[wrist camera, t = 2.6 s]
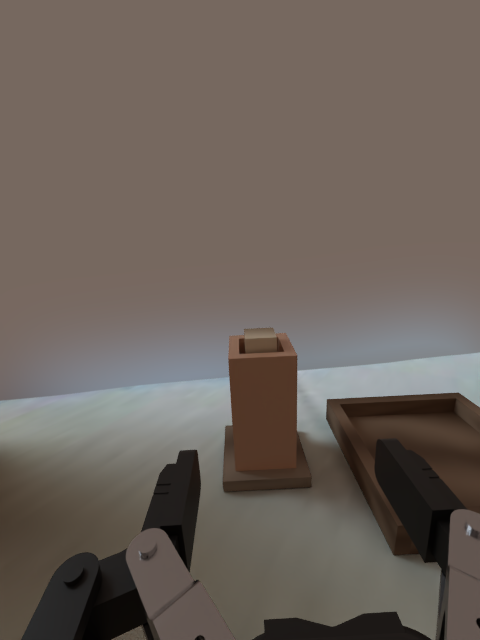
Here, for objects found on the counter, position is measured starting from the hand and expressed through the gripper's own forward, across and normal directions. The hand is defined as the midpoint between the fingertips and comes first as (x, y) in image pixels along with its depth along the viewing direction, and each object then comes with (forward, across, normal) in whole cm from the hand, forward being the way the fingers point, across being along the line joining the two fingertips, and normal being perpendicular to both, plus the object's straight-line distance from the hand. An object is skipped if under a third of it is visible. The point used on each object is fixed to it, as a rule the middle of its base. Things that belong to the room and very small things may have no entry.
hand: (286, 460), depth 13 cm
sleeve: (+12, 0, +9) cm, 14 cm away
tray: (+10, -14, +10) cm, 20 cm away
